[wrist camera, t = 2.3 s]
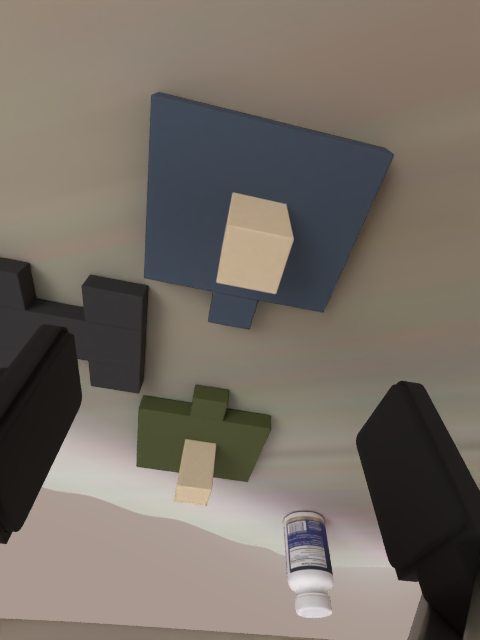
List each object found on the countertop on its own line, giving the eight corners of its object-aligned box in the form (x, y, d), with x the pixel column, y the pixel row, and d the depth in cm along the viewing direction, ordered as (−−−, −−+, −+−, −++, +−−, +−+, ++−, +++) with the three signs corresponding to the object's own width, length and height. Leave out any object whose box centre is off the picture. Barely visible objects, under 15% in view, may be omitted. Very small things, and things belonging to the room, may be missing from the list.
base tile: (148, 285, 24) (143, 297, 23) (143, 380, 30) (139, 393, 29) (-34, 250, 23) (-50, 261, 21) (0, 357, 29) (-11, 370, 27)
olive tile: (278, 397, 31) (282, 460, 26) (247, 469, 38) (246, 527, 34) (143, 375, 29) (122, 437, 25) (140, 453, 37) (123, 512, 32)
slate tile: (385, 147, 18) (432, 180, 13) (308, 328, 26) (320, 389, 21) (158, 92, 17) (120, 105, 12) (148, 298, 24) (122, 356, 20)
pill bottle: (316, 529, 47) (328, 621, 40) (279, 525, 47) (284, 617, 39) (329, 512, 44) (346, 609, 36) (289, 508, 44) (297, 605, 36)
